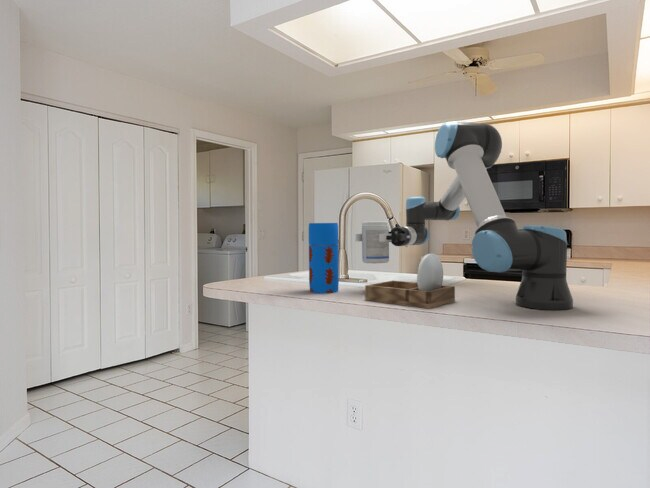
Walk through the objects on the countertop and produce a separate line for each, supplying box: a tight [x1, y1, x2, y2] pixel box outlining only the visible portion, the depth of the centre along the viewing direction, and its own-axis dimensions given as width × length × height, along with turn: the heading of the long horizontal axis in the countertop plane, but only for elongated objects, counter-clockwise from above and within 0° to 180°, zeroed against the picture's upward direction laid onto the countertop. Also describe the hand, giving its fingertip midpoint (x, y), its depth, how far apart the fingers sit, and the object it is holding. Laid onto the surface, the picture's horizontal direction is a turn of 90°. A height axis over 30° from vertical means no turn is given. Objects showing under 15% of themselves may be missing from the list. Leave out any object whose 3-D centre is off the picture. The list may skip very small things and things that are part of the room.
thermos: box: [308, 222, 340, 294], centre depth 164 cm, size 11×11×25 cm
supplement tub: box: [361, 221, 390, 264], centre depth 160 cm, size 10×10×15 cm
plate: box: [416, 253, 444, 291], centre depth 137 cm, size 1×14×14 cm, turn 138°
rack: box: [364, 280, 456, 309], centre depth 142 cm, size 23×16×5 cm
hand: (367, 237), depth 157 cm, fingers closed on supplement tub, 9 cm apart
